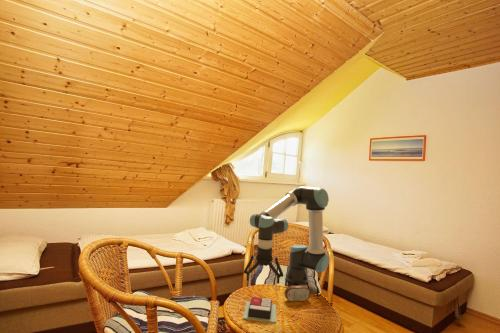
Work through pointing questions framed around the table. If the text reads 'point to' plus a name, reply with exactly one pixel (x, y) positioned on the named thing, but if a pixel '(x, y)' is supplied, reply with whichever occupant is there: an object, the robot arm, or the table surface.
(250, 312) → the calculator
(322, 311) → the table surface
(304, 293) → the tin
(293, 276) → the robot arm
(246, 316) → the mat
